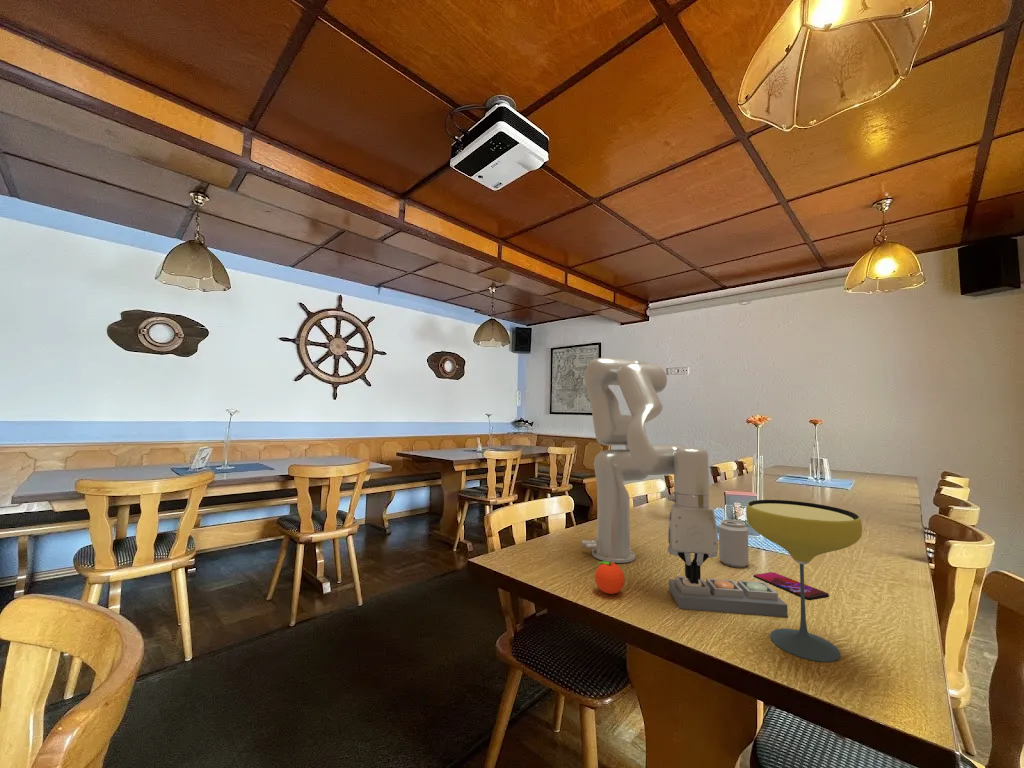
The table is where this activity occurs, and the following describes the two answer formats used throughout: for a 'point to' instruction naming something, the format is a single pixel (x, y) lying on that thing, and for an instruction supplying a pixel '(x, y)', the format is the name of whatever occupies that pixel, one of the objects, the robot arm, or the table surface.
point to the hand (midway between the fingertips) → (692, 581)
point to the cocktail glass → (804, 556)
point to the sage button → (756, 586)
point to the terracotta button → (723, 584)
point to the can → (733, 543)
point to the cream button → (687, 583)
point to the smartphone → (791, 585)
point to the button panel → (727, 598)
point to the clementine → (609, 577)
